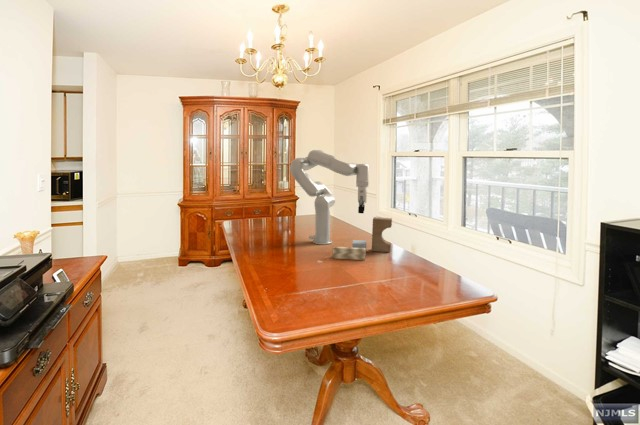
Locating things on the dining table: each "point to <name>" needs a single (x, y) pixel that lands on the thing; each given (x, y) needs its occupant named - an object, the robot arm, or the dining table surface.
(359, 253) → the board
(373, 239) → the decorative block
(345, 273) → the dining table surface
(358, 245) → the block
